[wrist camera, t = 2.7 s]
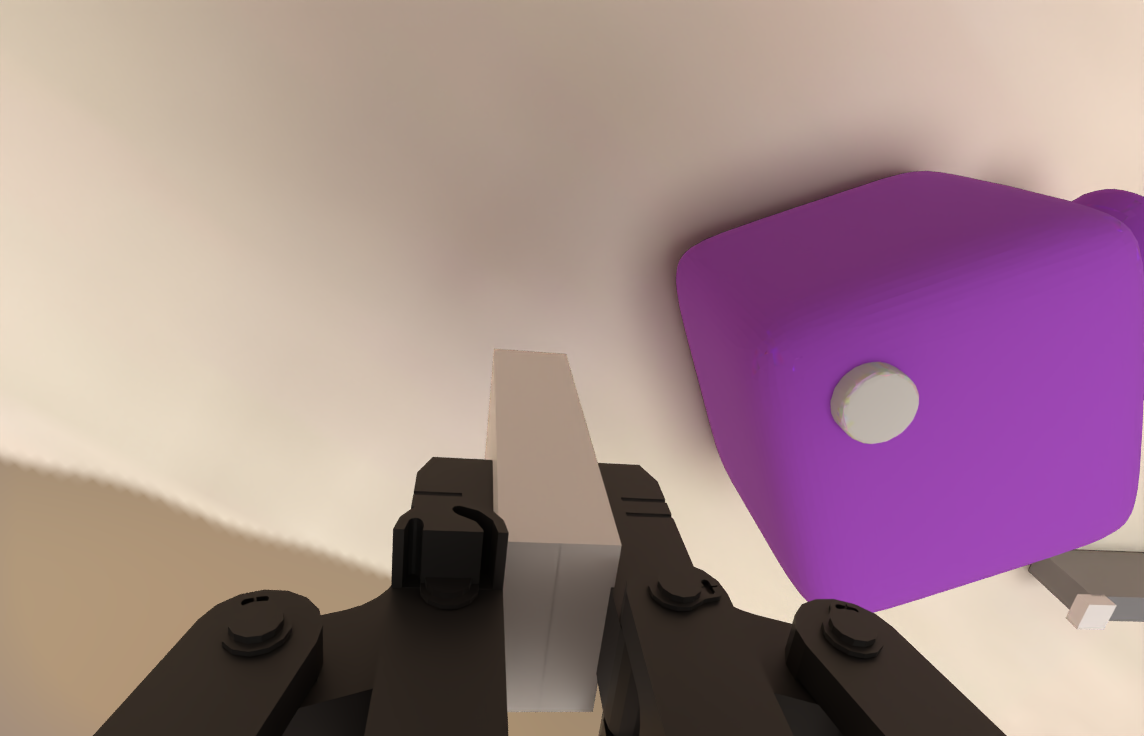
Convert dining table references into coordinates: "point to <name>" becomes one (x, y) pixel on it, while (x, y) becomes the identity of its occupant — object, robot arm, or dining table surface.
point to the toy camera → (924, 379)
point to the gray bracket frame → (1095, 585)
